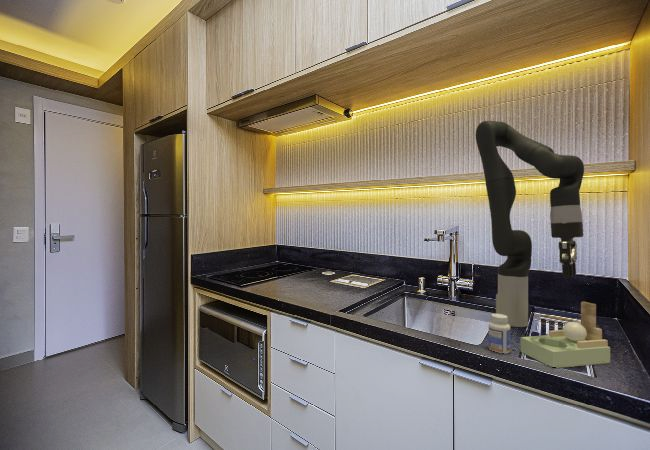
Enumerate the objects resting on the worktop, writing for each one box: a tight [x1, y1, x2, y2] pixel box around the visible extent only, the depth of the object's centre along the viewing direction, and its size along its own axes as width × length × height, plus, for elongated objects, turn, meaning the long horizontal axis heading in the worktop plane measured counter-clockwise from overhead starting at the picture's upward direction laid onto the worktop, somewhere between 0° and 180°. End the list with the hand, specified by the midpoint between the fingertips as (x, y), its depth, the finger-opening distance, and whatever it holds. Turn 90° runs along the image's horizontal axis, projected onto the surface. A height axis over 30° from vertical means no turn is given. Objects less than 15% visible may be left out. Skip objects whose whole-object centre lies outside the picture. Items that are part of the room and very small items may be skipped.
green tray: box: [520, 329, 611, 369], centre depth 82 cm, size 10×17×6 cm, turn 100°
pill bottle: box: [488, 313, 512, 354], centre depth 86 cm, size 5×5×10 cm
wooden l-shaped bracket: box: [575, 301, 603, 340], centre depth 83 cm, size 6×1×10 cm, turn 10°
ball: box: [562, 321, 587, 342], centre depth 82 cm, size 5×5×5 cm
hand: (569, 276), depth 91 cm, fingers open, 8 cm apart
